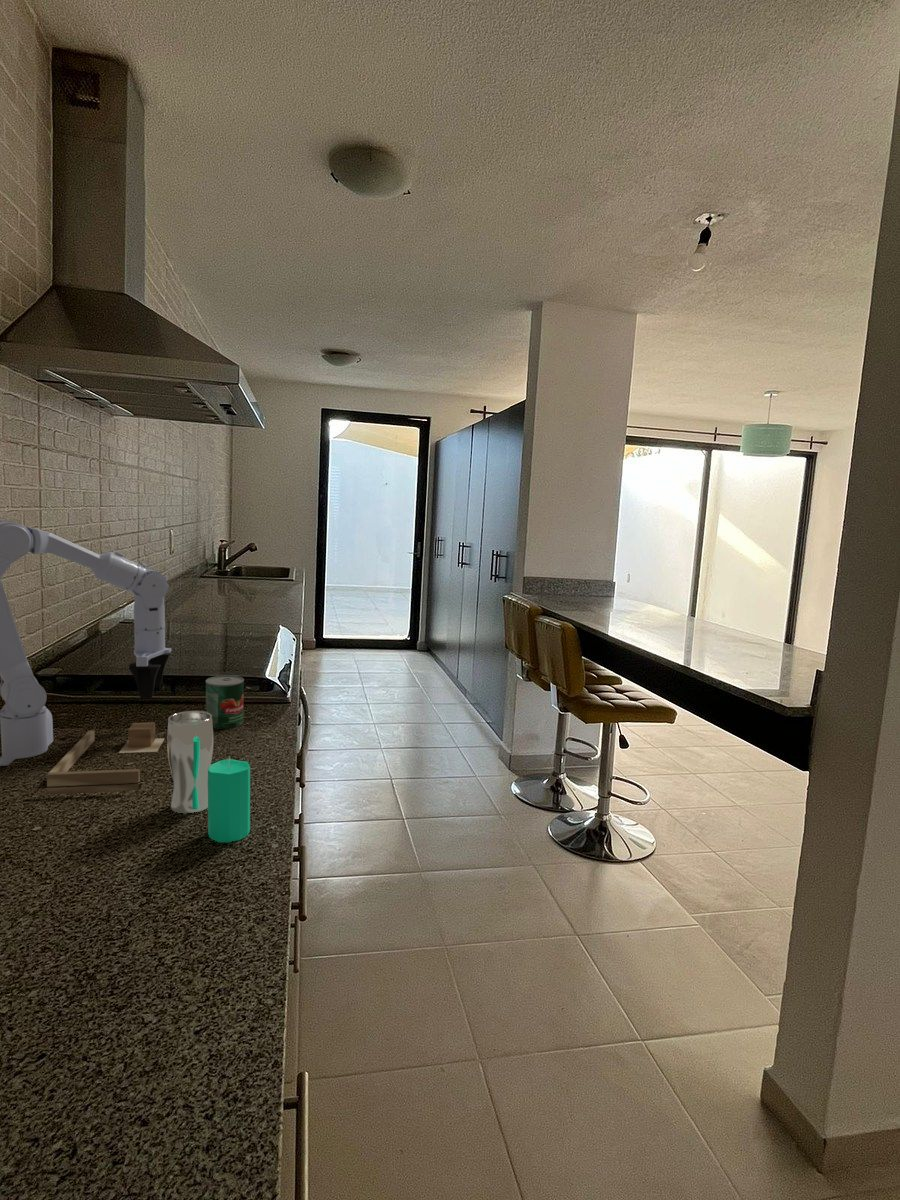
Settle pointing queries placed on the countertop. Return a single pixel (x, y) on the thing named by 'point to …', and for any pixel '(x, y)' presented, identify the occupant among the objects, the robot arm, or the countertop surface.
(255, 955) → the countertop surface
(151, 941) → the countertop surface
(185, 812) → the beer glass
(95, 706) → the countertop surface
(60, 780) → the wooden flat frame
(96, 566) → the robot arm
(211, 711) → the canned tomato
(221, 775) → the candle
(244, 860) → the countertop surface
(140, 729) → the block
